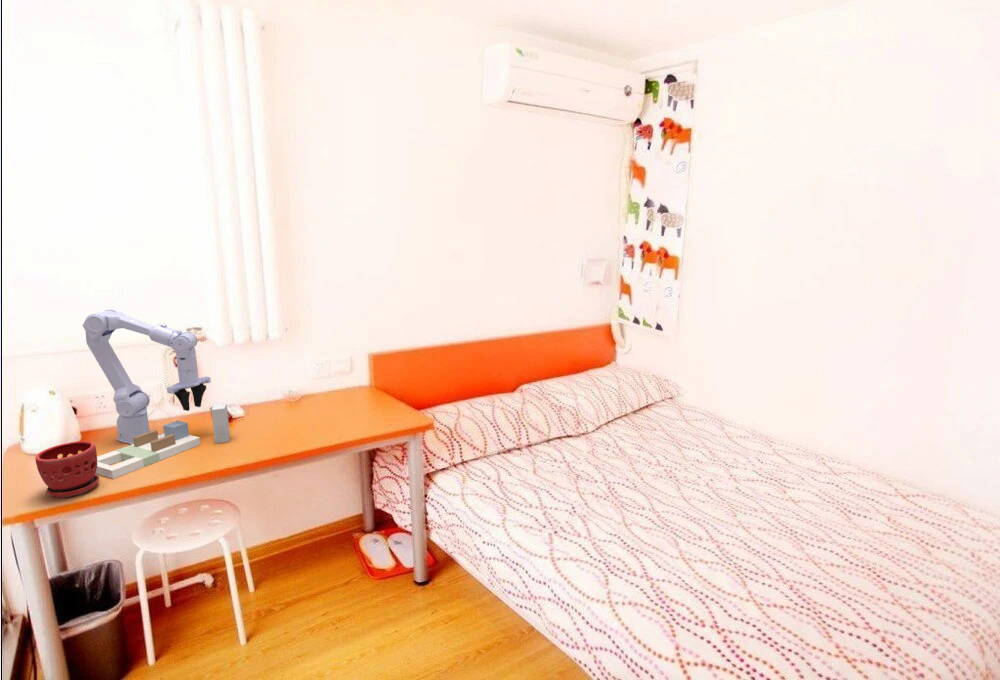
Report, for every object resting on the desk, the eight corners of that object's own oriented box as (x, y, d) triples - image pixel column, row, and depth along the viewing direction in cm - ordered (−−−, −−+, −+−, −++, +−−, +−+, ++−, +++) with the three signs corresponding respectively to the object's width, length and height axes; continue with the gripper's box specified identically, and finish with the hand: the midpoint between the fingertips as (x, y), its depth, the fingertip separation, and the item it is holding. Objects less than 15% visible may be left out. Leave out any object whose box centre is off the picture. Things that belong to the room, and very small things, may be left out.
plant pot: (90, 475, 165) (83, 436, 162) (109, 487, 157) (103, 447, 155) (34, 492, 154) (27, 451, 152) (53, 506, 147) (45, 463, 144)
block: (164, 438, 186) (163, 425, 185) (179, 433, 190) (177, 420, 189) (175, 440, 184) (173, 427, 183) (189, 435, 188) (187, 422, 187)
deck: (83, 469, 168) (81, 452, 167) (172, 437, 193) (170, 422, 192) (113, 478, 163) (110, 460, 161) (200, 444, 187) (198, 428, 186)
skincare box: (216, 437, 193) (212, 403, 191) (230, 435, 195) (226, 402, 192) (214, 444, 188) (210, 409, 185) (228, 442, 189) (225, 408, 187)
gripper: (175, 376, 180) (180, 416, 183) (215, 365, 193) (219, 403, 196) (160, 373, 183) (165, 413, 186) (200, 363, 196) (205, 400, 199)
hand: (192, 408), depth 191 cm, fingers open, 4 cm apart
